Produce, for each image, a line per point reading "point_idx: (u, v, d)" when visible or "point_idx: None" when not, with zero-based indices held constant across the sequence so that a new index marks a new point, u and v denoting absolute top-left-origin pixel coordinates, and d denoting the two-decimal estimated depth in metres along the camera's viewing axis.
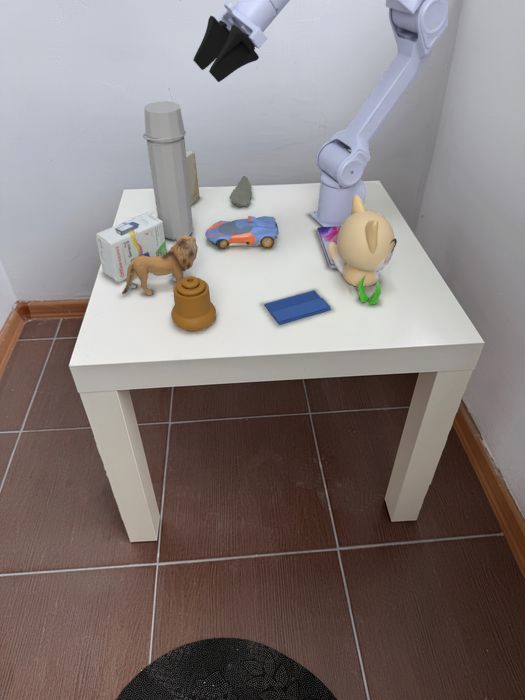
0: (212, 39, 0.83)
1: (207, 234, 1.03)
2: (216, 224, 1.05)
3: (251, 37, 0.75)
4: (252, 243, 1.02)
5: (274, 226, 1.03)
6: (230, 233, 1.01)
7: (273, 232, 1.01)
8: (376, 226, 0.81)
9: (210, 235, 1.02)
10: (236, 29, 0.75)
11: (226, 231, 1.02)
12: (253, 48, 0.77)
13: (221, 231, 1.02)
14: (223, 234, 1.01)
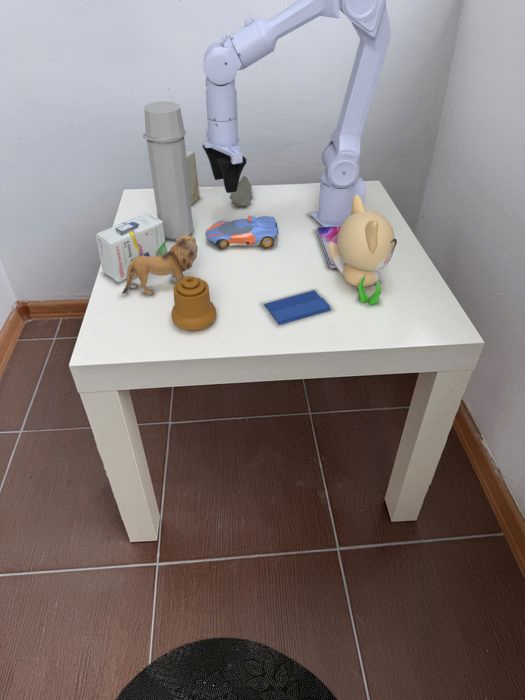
0: (214, 159, 1.04)
1: (207, 234, 1.03)
2: (216, 224, 1.05)
3: (232, 163, 0.95)
4: (252, 243, 1.02)
5: (274, 226, 1.03)
6: (230, 233, 1.01)
7: (273, 232, 1.01)
8: (376, 226, 0.81)
9: (210, 235, 1.02)
10: (220, 164, 0.97)
11: (226, 231, 1.02)
12: None
13: (221, 231, 1.02)
14: (223, 234, 1.01)
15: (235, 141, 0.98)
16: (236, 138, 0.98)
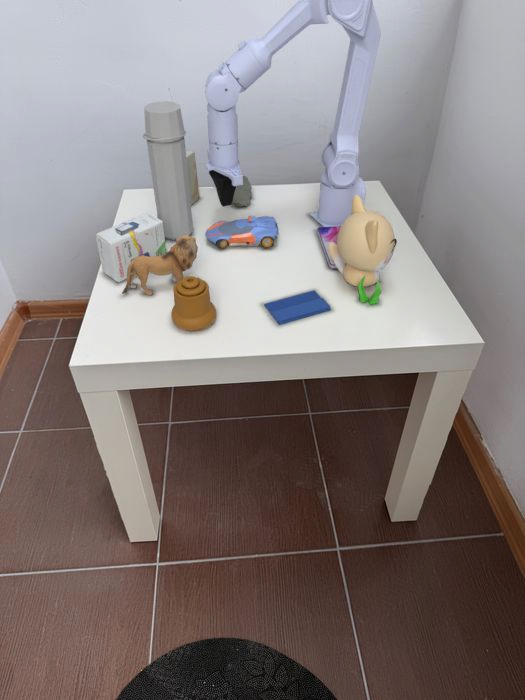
0: None
1: (207, 234, 1.03)
2: (216, 224, 1.05)
3: (233, 185, 0.98)
4: (252, 243, 1.02)
5: (274, 226, 1.03)
6: (230, 233, 1.01)
7: (273, 232, 1.01)
8: (376, 226, 0.81)
9: (210, 235, 1.02)
10: (215, 179, 1.01)
11: (226, 231, 1.02)
12: None
13: (221, 231, 1.02)
14: (223, 234, 1.01)
15: (236, 163, 1.01)
16: (237, 160, 1.01)
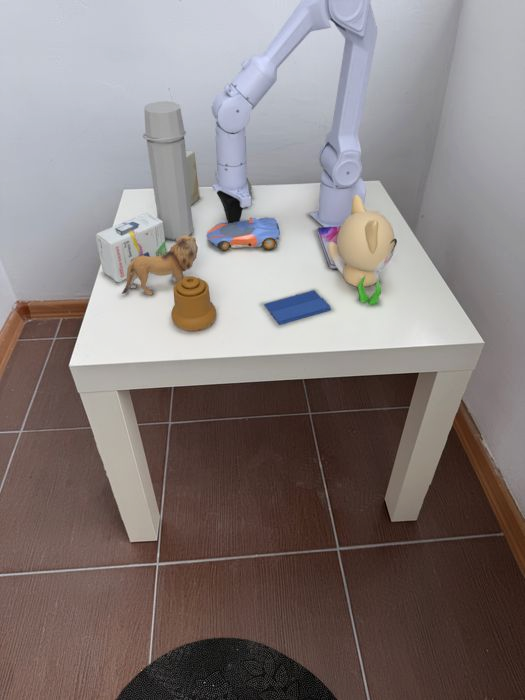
0: None
1: (208, 236, 1.03)
2: (217, 226, 1.04)
3: (241, 206, 0.97)
4: (253, 244, 1.01)
5: (276, 227, 1.03)
6: (232, 235, 1.01)
7: (275, 234, 1.01)
8: (376, 226, 0.81)
9: (211, 237, 1.02)
10: (223, 200, 1.01)
11: (228, 233, 1.01)
12: None
13: (223, 233, 1.02)
14: (225, 236, 1.01)
15: (244, 184, 1.00)
16: (245, 181, 1.00)
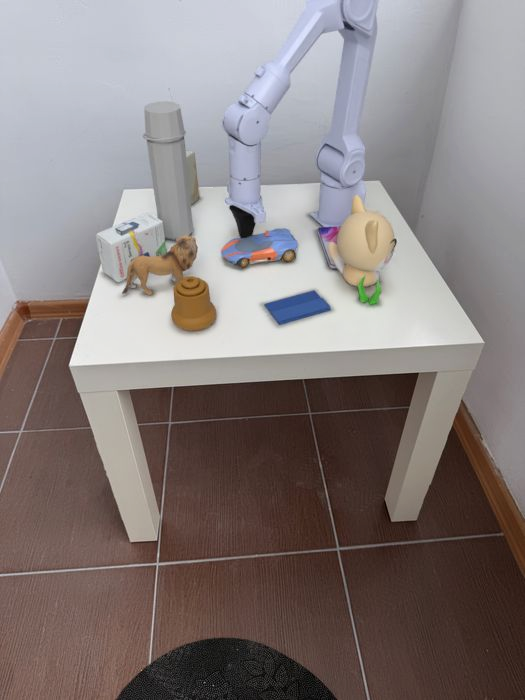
0: None
1: (224, 254, 0.98)
2: (230, 242, 0.99)
3: (256, 222, 0.93)
4: (273, 258, 0.98)
5: (292, 238, 0.99)
6: (250, 250, 0.97)
7: (294, 245, 0.98)
8: (376, 226, 0.81)
9: (228, 255, 0.97)
10: (235, 214, 0.96)
11: (245, 249, 0.97)
12: None
13: (239, 249, 0.97)
14: (243, 252, 0.96)
15: (258, 198, 0.95)
16: (259, 195, 0.95)
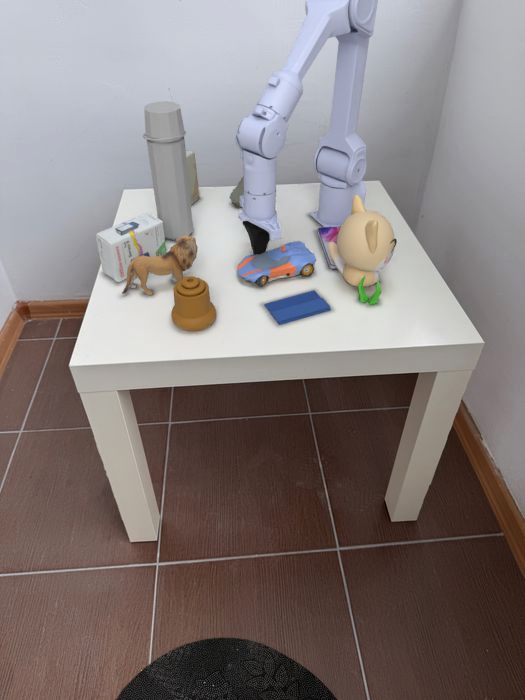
0: None
1: (241, 273, 0.93)
2: (245, 260, 0.95)
3: (271, 239, 0.88)
4: (292, 274, 0.94)
5: (308, 251, 0.96)
6: (268, 267, 0.92)
7: (312, 258, 0.94)
8: (376, 226, 0.81)
9: (246, 274, 0.92)
10: (249, 230, 0.92)
11: (263, 266, 0.93)
12: None
13: (257, 267, 0.93)
14: (261, 270, 0.92)
15: (273, 214, 0.91)
16: (274, 210, 0.91)
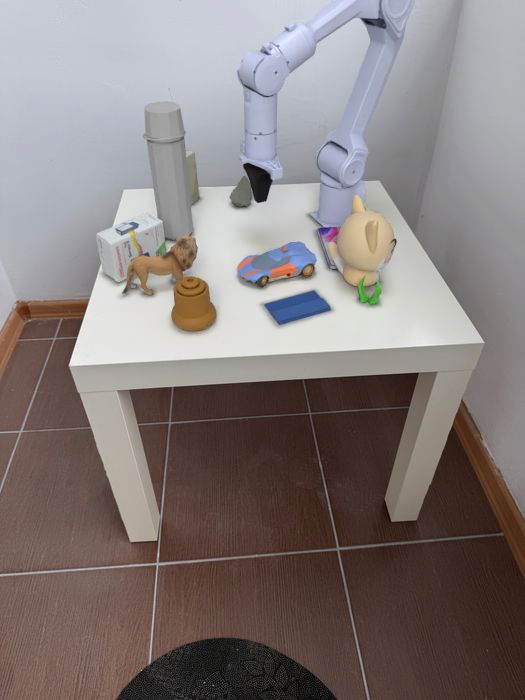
0: None
1: (241, 273, 0.93)
2: (245, 260, 0.95)
3: (272, 179, 0.89)
4: (292, 274, 0.94)
5: (309, 251, 0.96)
6: (269, 268, 0.92)
7: (313, 258, 0.94)
8: (376, 226, 0.81)
9: (246, 274, 0.92)
10: (251, 173, 0.93)
11: (263, 266, 0.92)
12: None
13: (257, 267, 0.93)
14: (262, 270, 0.92)
15: (274, 155, 0.92)
16: (275, 152, 0.92)
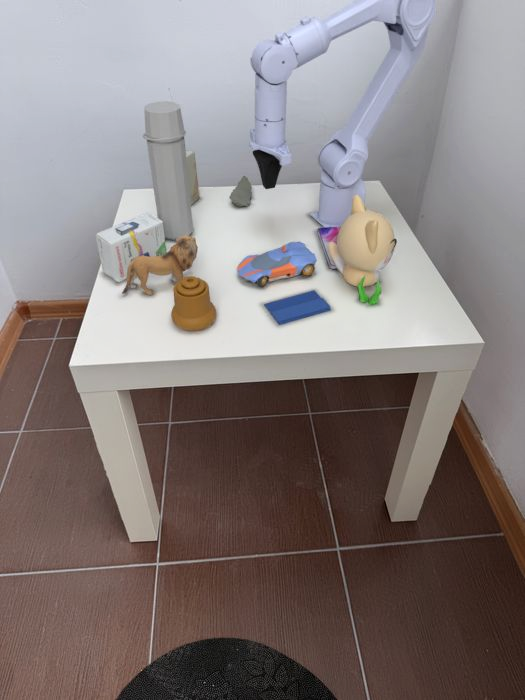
0: None
1: (241, 273, 0.93)
2: (245, 260, 0.95)
3: (281, 164, 0.92)
4: (292, 274, 0.94)
5: (309, 251, 0.96)
6: (269, 268, 0.92)
7: (313, 259, 0.94)
8: (376, 226, 0.81)
9: (246, 274, 0.92)
10: (261, 159, 0.96)
11: (263, 266, 0.92)
12: None
13: (257, 267, 0.93)
14: (262, 270, 0.92)
15: (283, 142, 0.95)
16: (284, 139, 0.95)
